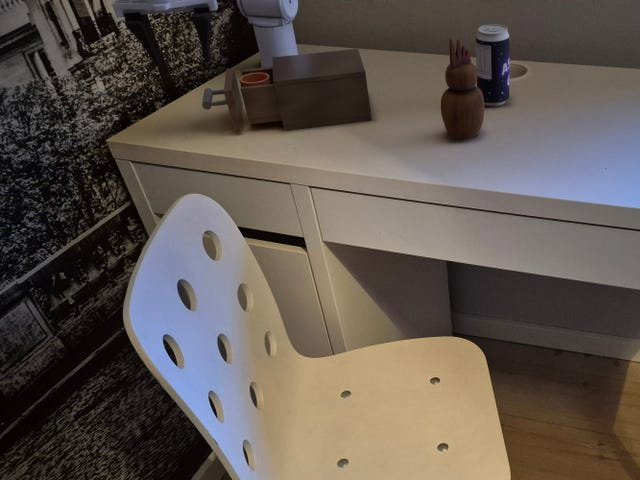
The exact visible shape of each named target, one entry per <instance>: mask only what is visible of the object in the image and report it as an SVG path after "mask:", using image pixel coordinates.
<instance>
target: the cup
mask: <svg viewBox="0 0 640 480" xmlns="http://www.w3.org/2000/svg"><path fill="white" fill-rule="evenodd" d="M238 81H239V85H240V88H241V87H248V86H257V85H266V84H272V83H271V79H270V75H268V74H267V73H250V74H246V75H244V76H243V75H242V76H240V78H239V79H238Z"/></svg>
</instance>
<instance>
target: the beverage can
mask: <svg viewBox="0 0 640 480" xmlns="http://www.w3.org/2000/svg"><path fill="white" fill-rule="evenodd" d="M510 53H511V36H510V34H509V32H508V27H507V26H506V25H502V24H493V23H492V24H484V25H480V26H479V27H478V28H477V33H476V35H475V66H476V68H477V83H476V87H478V88H479V89H480V90H481V91H482V93H483V97H484V106H487V107H498V106H502V105H504V104H505V103H506V102H507V101H508V100H509V98H510V75H511V74H510V72H511V71H510V64H511V63H510V61H511V59H510V57H511V56H510V55H511V54H510Z"/></svg>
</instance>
